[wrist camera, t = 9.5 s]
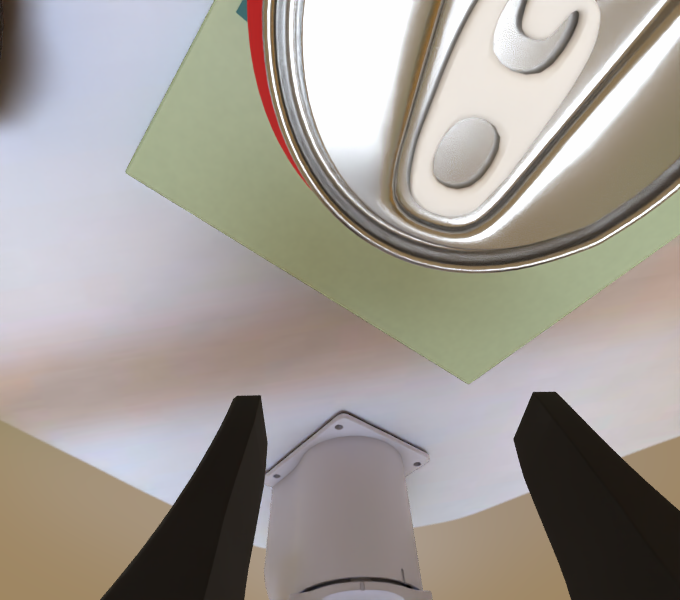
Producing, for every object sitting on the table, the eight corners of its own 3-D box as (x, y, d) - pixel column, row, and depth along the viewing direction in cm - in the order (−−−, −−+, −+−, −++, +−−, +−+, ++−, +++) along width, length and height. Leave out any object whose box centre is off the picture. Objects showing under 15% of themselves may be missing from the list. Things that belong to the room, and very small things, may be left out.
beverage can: (503, -73, 13) (1074, -196, 3) (420, 107, 15) (575, 335, 6) (334, -168, 11) (387, -896, 2) (278, 47, 14) (182, 213, 5)
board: (463, 369, 26) (469, 388, 25) (134, 162, 18) (121, 175, 17) (703, 192, 19) (727, 206, 18) (356, -258, 11) (359, -282, 10)
